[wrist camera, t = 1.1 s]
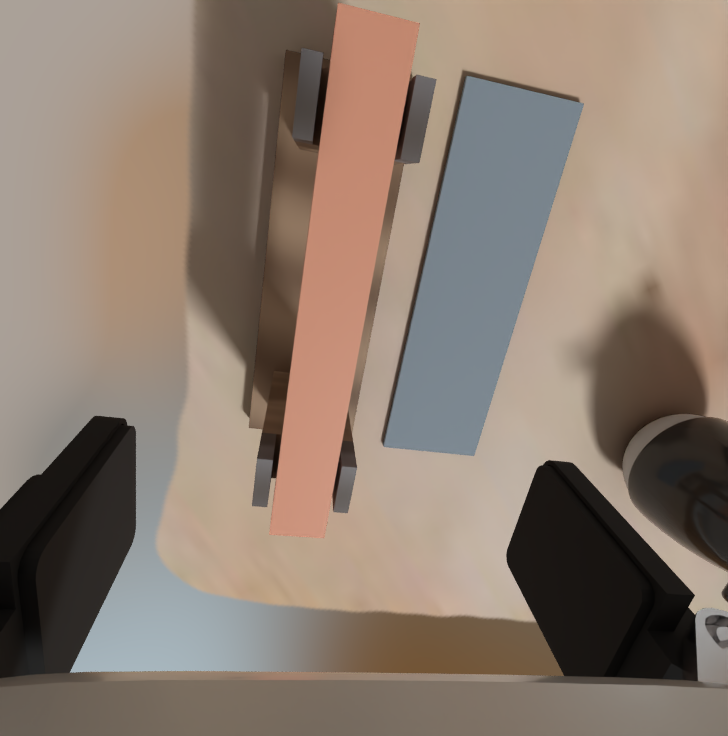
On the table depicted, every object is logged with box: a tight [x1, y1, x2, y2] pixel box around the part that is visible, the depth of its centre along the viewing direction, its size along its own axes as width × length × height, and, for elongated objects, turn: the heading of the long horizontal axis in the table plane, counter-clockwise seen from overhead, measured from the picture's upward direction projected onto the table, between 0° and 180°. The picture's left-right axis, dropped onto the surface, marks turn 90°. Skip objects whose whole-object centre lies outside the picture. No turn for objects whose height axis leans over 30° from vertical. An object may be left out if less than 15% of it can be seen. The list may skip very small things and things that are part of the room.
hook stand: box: [249, 48, 436, 513], centre depth 27 cm, size 25×8×13 cm, turn 170°
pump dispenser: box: [623, 414, 728, 602], centre depth 35 cm, size 10×10×15 cm
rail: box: [269, 3, 420, 538], centre depth 22 cm, size 24×3×3 cm, turn 170°
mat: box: [383, 76, 584, 456], centre depth 35 cm, size 27×8×1 cm, turn 170°
